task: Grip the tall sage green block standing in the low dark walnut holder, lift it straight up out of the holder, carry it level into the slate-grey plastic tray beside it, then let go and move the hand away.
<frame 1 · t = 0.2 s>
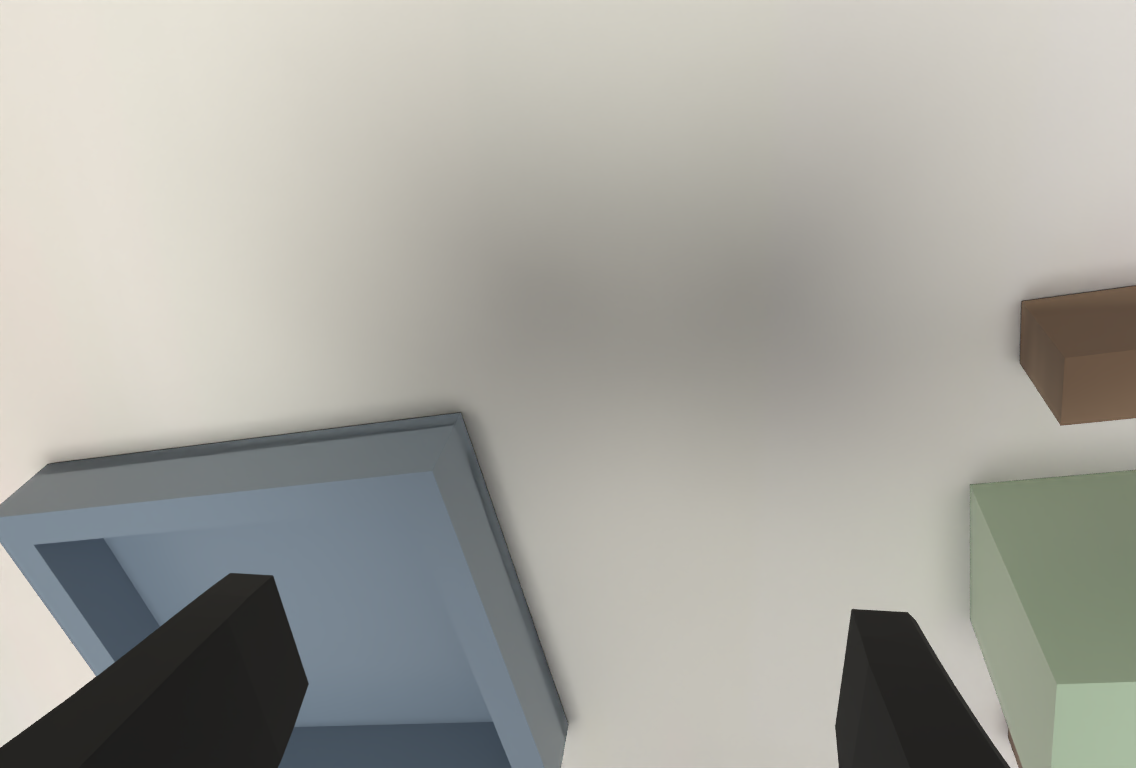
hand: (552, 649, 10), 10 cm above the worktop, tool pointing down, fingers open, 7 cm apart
tray: (320, 600, 25), on the worktop
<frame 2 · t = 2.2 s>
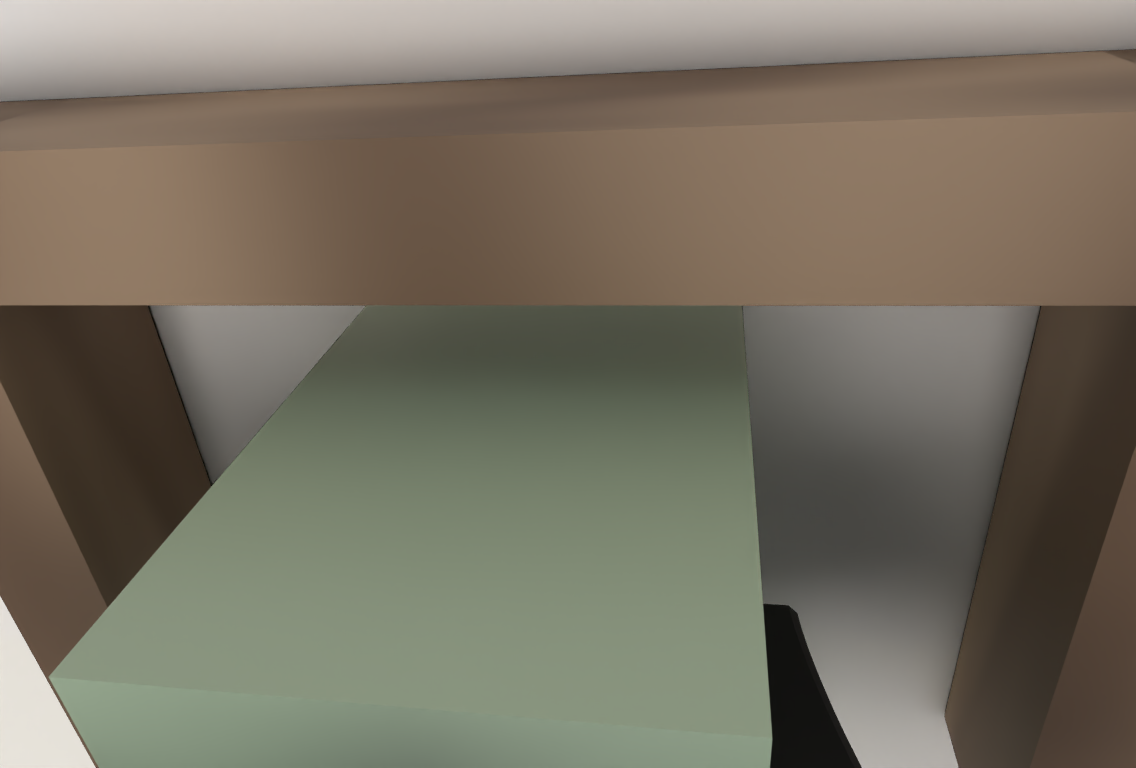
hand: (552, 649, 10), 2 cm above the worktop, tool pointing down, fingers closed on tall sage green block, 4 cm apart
tall sage green block: (535, 721, 9), in the holder, touching gripper
holder: (574, 547, 12), on the worktop
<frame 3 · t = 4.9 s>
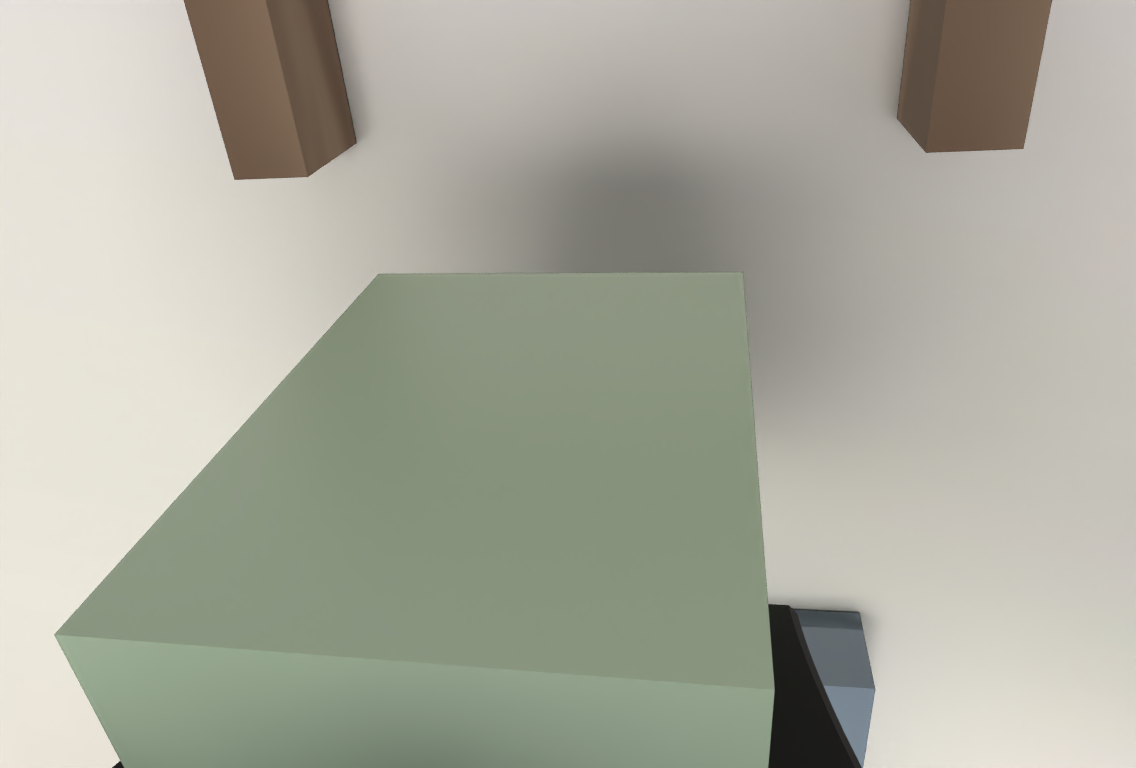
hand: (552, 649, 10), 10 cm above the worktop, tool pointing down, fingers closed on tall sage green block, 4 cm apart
tall sage green block: (537, 698, 9), point 11 cm above the worktop, touching gripper
tray: (644, 750, 26), on the worktop
when the fingers open (4 cm above the worktop, at t = 7.6 s): tall sage green block drops 1 cm, resting on tray.
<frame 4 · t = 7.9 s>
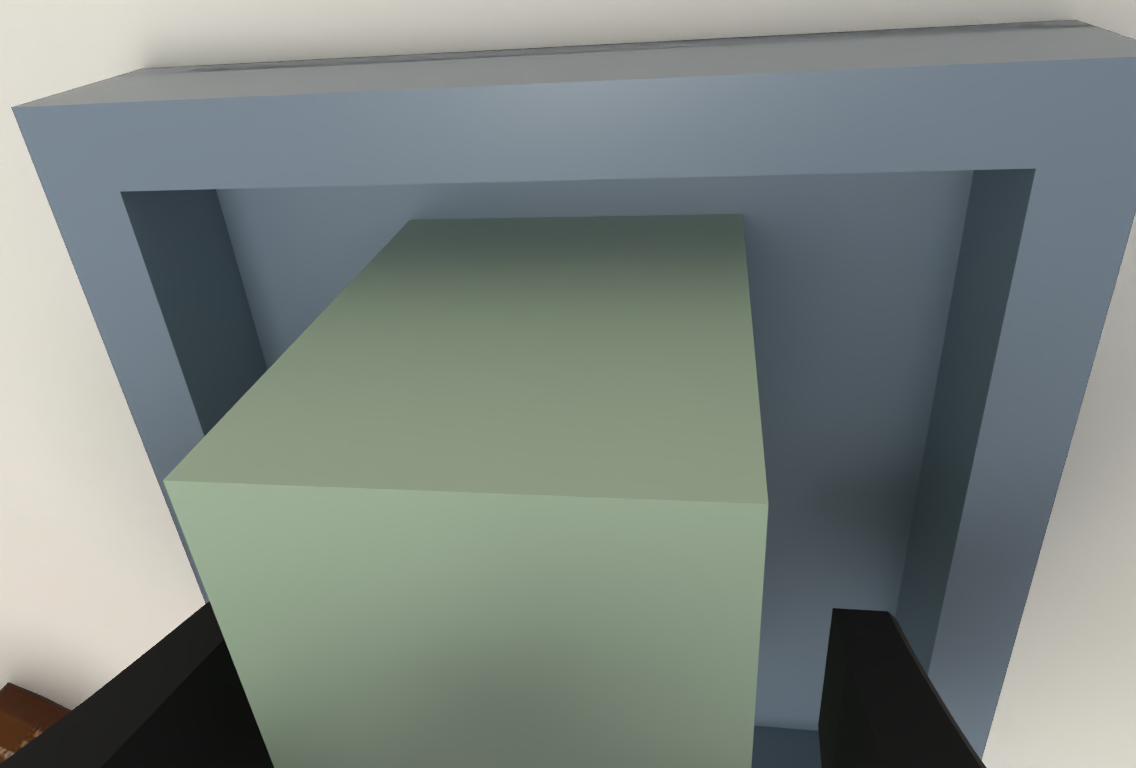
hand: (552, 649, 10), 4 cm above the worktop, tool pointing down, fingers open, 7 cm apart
tall sage green block: (556, 599, 10), in the tray, point 4 cm above the worktop
tray: (592, 462, 14), on the worktop
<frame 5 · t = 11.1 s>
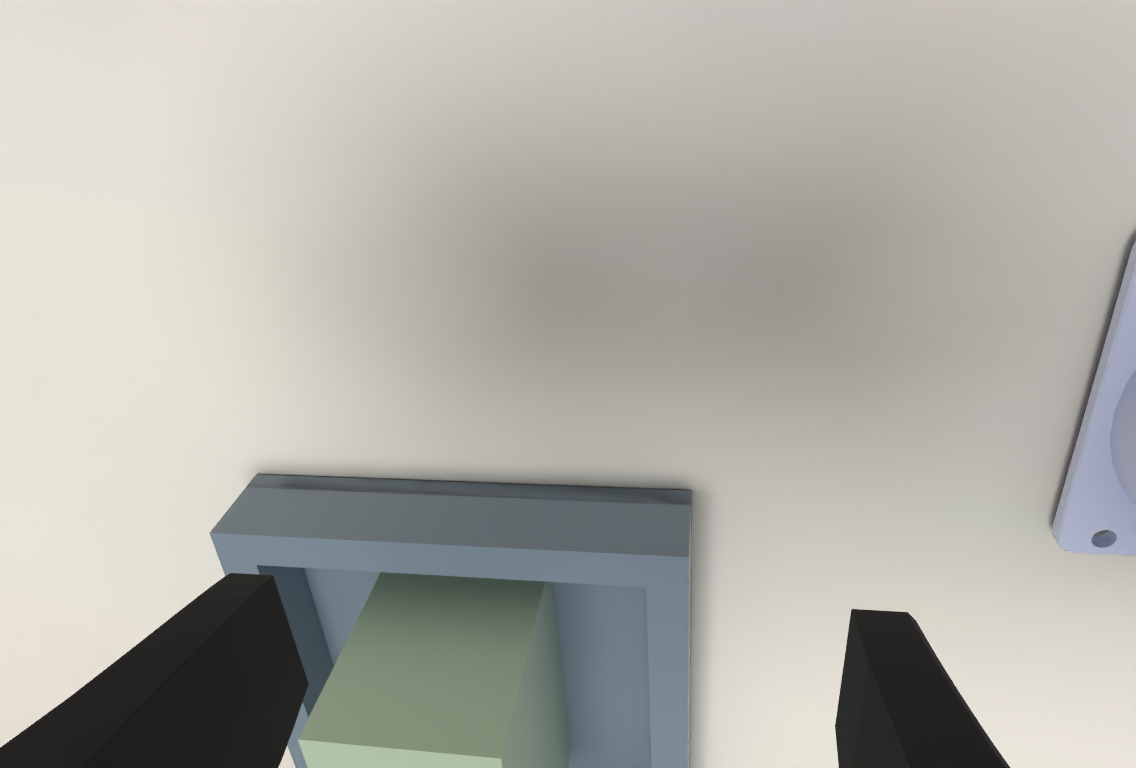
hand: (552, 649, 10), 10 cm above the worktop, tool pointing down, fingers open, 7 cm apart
tall sage green block: (460, 747, 22), in the tray, point 4 cm above the worktop
tray: (492, 653, 25), on the worktop
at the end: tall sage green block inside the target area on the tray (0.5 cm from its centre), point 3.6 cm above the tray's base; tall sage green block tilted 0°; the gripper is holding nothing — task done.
